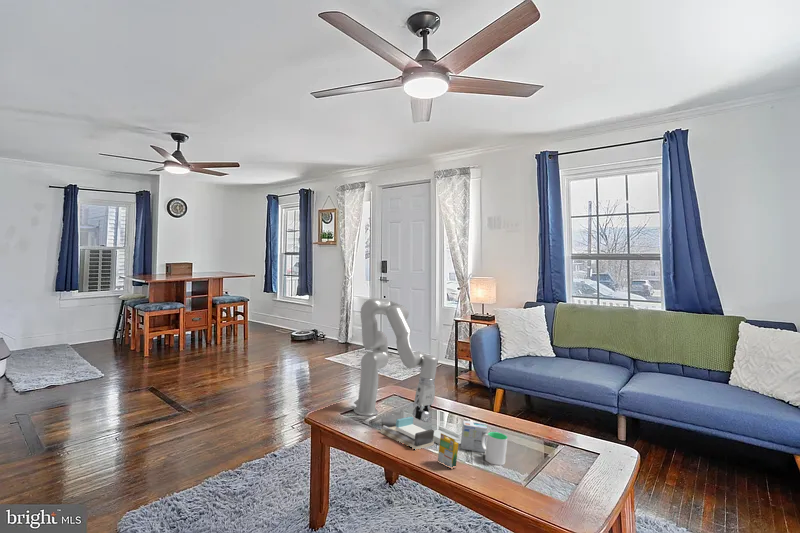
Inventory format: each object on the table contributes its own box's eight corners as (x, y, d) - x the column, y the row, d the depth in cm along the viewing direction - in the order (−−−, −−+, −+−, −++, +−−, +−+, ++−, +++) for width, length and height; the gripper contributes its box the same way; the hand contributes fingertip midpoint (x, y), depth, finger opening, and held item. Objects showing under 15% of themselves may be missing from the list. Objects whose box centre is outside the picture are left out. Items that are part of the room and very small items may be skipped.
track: (380, 432, 182) (382, 418, 182) (398, 428, 190) (400, 414, 190) (415, 450, 166) (417, 434, 166) (433, 445, 174) (435, 430, 175)
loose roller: (412, 416, 195) (413, 407, 195) (418, 415, 198) (419, 406, 198) (424, 422, 189) (425, 413, 189) (430, 421, 192) (431, 412, 192)
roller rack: (421, 435, 184) (422, 430, 184) (440, 430, 193) (440, 425, 193) (441, 445, 175) (442, 439, 175) (459, 439, 185) (460, 434, 185)
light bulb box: (483, 447, 179) (486, 423, 180) (485, 453, 172) (488, 428, 173) (460, 443, 180) (462, 419, 181) (460, 449, 174) (463, 424, 174)
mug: (474, 454, 170) (476, 429, 170) (486, 451, 174) (489, 427, 175) (496, 466, 160) (499, 440, 160) (508, 463, 165) (511, 437, 165)
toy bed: (394, 434, 177) (396, 419, 177) (409, 430, 184) (411, 416, 184) (414, 444, 168) (416, 428, 169) (428, 439, 175) (430, 425, 175)
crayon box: (456, 468, 154) (459, 438, 154) (451, 470, 152) (454, 439, 152) (442, 461, 159) (445, 431, 160) (437, 462, 157) (440, 433, 158)
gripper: (421, 384, 186) (415, 423, 185) (443, 381, 197) (438, 418, 197) (409, 379, 191) (404, 417, 190) (432, 377, 203) (426, 413, 202)
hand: (421, 417), depth 193 cm, fingers closed on loose roller, 4 cm apart
